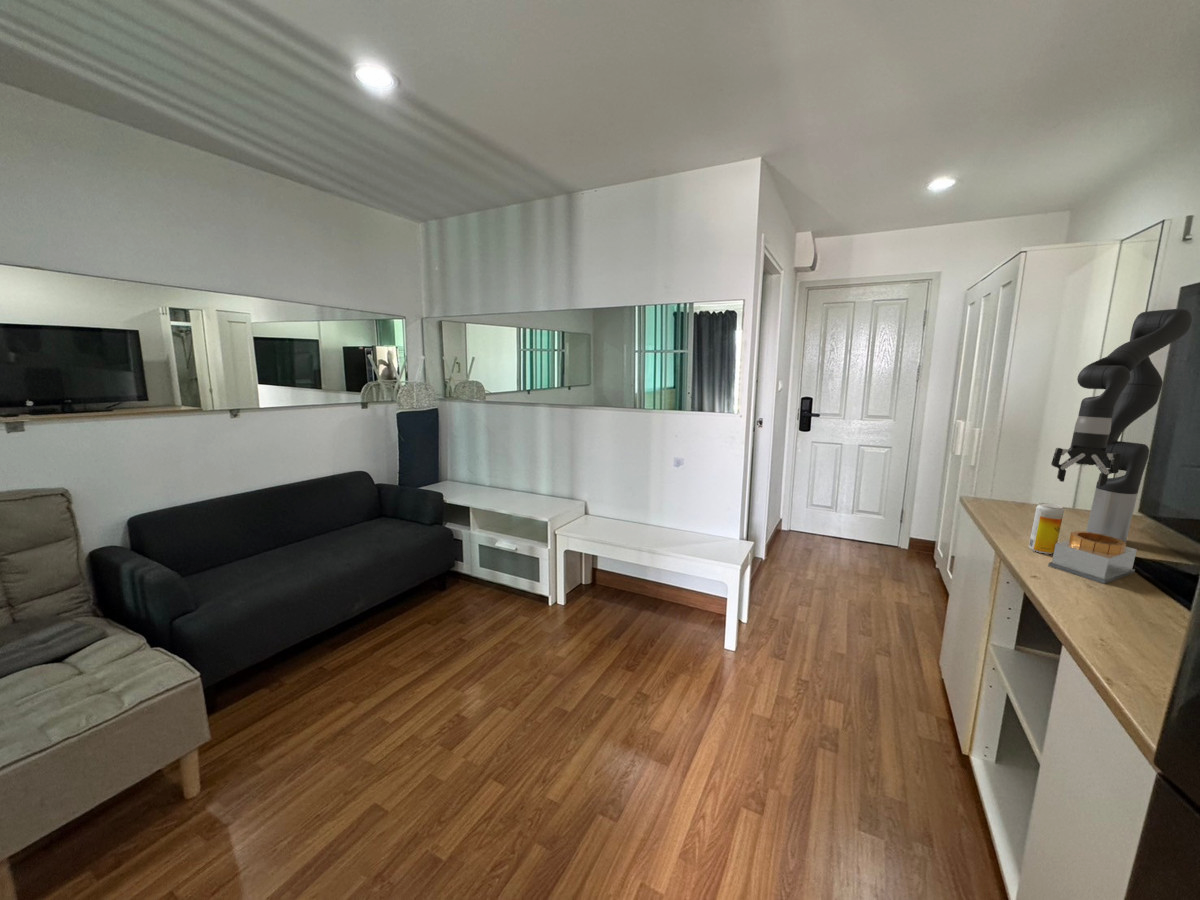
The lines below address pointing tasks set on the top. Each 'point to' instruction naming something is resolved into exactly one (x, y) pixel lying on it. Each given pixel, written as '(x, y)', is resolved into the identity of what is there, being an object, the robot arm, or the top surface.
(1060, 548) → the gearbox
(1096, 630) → the top surface
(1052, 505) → the beer can
